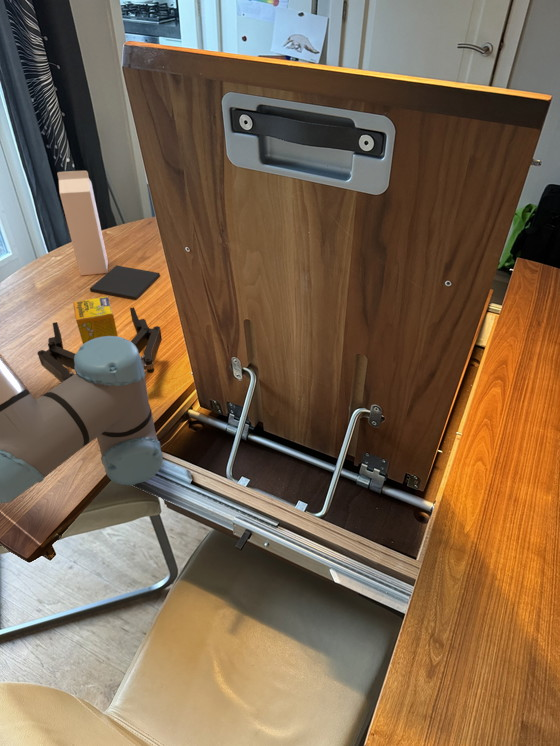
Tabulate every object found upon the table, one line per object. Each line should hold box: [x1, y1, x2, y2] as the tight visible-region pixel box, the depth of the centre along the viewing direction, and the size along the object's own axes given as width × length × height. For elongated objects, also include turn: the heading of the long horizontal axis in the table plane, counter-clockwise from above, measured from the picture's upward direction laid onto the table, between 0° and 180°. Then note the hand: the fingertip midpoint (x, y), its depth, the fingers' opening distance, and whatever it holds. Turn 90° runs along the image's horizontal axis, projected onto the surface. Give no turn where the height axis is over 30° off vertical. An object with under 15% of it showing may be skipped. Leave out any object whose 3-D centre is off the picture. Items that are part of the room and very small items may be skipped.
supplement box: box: [72, 295, 119, 345], centre depth 90 cm, size 6×6×11 cm
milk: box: [56, 170, 109, 276], centre depth 112 cm, size 6×6×22 cm
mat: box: [89, 264, 161, 301], centre depth 114 cm, size 11×11×1 cm
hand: (95, 321), depth 92 cm, fingers open, 12 cm apart
